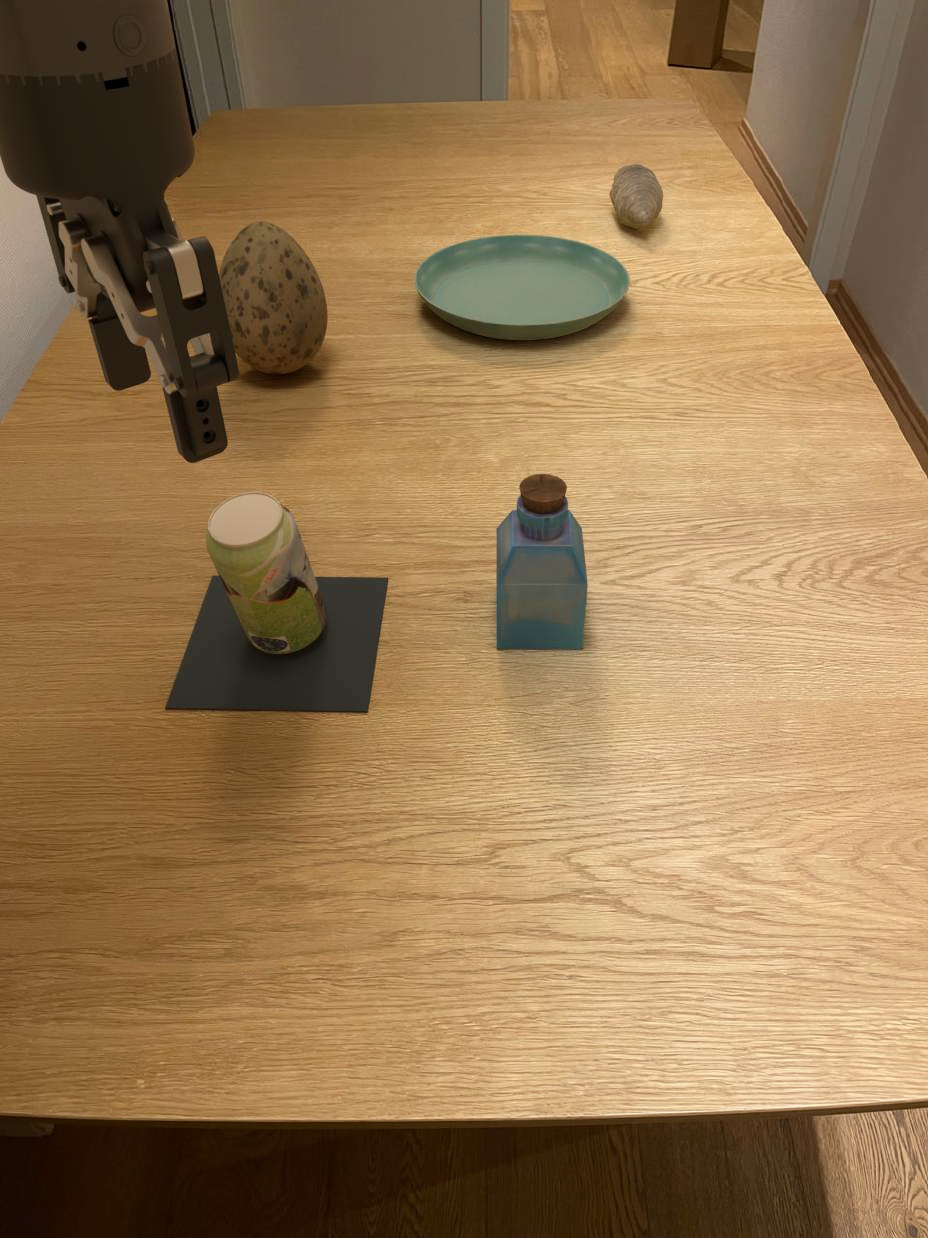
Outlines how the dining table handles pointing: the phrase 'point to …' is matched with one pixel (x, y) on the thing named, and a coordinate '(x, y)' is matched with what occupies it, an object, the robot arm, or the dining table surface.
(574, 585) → the perfume bottle
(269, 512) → the beverage can
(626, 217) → the seashell
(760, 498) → the dining table surface
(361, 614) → the mat
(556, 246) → the saucer
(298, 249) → the decorative egg
